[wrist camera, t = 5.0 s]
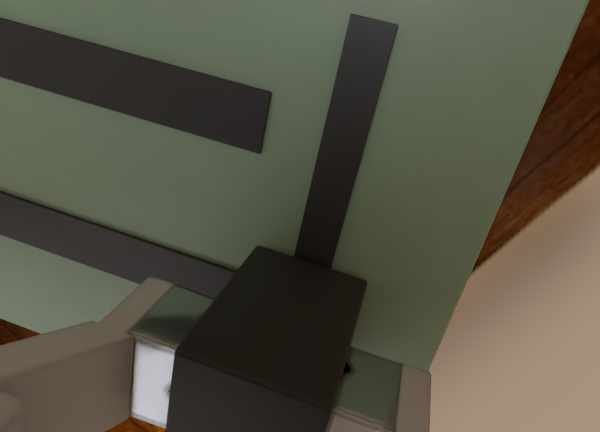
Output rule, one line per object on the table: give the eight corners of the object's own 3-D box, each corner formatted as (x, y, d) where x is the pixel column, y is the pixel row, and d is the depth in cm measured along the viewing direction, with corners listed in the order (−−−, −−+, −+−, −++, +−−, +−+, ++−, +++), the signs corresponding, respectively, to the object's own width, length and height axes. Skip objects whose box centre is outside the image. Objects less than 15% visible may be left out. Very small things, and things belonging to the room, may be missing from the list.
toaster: (499, -8, 20) (605, -29, 7) (417, 222, 25) (385, 471, 12) (153, -86, 23) (-266, -211, 9) (140, 138, 28) (-147, 265, 14)
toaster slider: (368, 279, 10) (333, 409, 7) (339, 368, 11) (297, 516, 8) (256, 242, 10) (172, 349, 7) (239, 332, 11) (159, 459, 8)
